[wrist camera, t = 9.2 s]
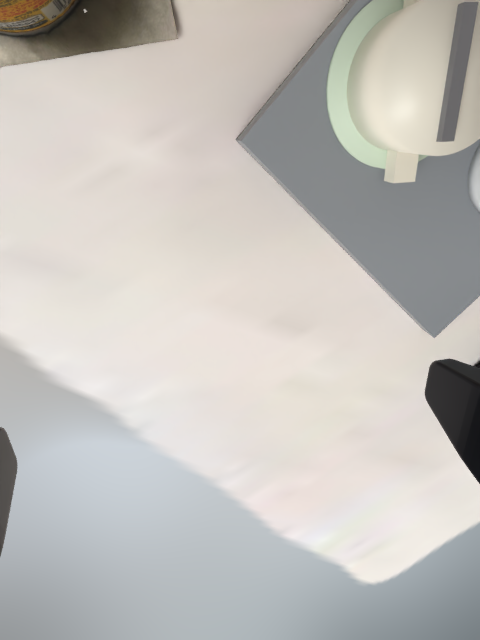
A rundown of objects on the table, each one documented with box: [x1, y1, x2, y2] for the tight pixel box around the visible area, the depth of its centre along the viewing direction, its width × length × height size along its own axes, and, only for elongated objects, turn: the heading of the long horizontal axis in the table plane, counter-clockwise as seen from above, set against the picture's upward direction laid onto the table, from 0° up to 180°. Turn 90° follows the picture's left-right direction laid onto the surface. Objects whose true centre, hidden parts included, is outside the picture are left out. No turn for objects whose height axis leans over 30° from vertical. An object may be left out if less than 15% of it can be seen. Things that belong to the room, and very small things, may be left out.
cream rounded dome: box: [347, 0, 480, 183], centre depth 15 cm, size 7×5×3 cm
